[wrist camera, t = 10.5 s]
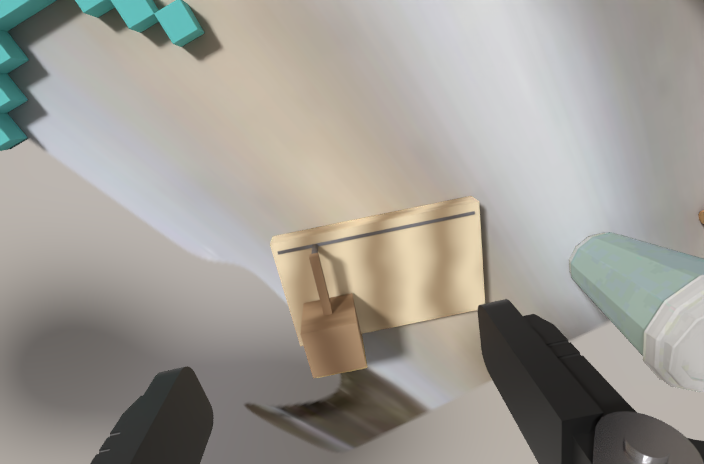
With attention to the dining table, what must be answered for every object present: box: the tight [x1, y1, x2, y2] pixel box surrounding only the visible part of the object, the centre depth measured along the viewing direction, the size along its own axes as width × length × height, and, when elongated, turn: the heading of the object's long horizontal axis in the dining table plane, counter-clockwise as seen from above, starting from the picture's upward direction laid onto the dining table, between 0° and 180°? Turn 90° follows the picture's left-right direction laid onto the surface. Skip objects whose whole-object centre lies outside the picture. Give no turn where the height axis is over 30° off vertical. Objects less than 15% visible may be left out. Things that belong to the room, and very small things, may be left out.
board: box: [270, 196, 485, 346], centre depth 36 cm, size 20×12×2 cm, turn 101°
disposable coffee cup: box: [569, 232, 704, 392], centre depth 32 cm, size 11×11×15 cm
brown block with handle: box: [300, 244, 367, 378], centre depth 34 cm, size 5×13×7 cm, turn 11°
